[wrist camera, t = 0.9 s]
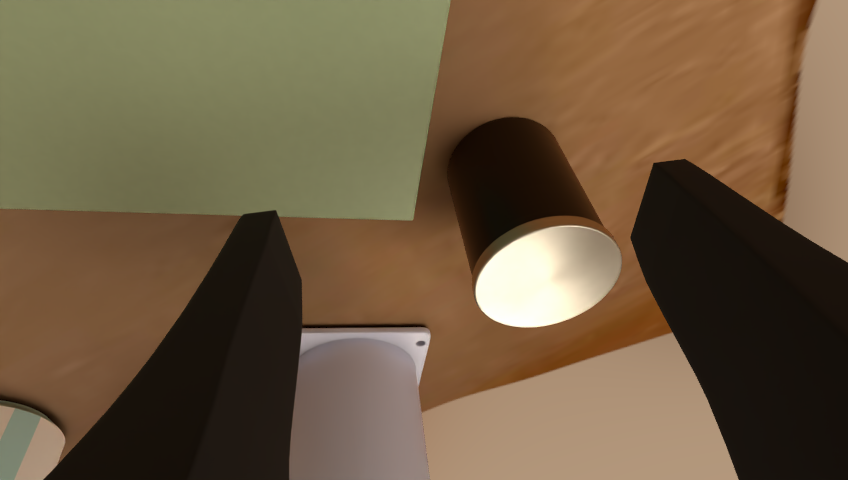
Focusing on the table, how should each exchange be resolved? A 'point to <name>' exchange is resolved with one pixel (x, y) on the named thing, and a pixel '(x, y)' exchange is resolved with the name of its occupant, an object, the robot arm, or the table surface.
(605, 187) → the table surface
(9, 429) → the can
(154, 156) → the shelf
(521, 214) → the canister
